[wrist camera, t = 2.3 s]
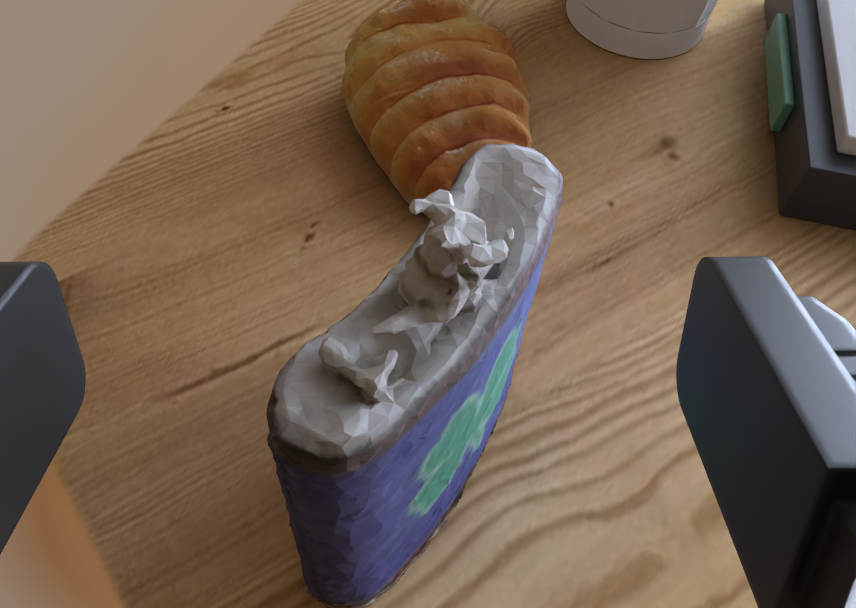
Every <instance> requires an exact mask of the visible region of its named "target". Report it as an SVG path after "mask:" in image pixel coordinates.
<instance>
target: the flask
mask: <svg viewBox="0 0 856 608" xmlns="http://www.w3.org/2000/svg"><path fill="white" fill-rule="evenodd" d="M562 189H563V178H562V176H561V174H560V172H559V171H558V170H557V169H556V168H555V167H554V165H553V164H552V163H551V162H550V161H549V160H548V159H547V158H546V157H545V156H543V155H542V154H541V153H539V152H538V151H536V150H535V149H533V148H528V147H522V146H518V145H514V144H503V145H495V144H486V145H485V146H483V147H482V148H480V149H479V150H477V151H476V152H475V153H474V154H473V155H472V156H471V157H470V158H469V159H468V160H467V161H466V162H464V163H463V164H462V165H461V167H460V169H459V171H458V173H457V174H456V176H455V178H454V180H453V182H452V183H451V188H450V190H449V191H446V190H442V189H439V190H437V191H435V192H433V193H431V194H429V195H428V196H427V197H426V198H424V199H413V201H412V202H411V204H410V205H409V209H410V212H411V213H413V214H415V215H416V214H419V213H421V212H425V213H427V214H428V215H429V216H430V218H431V221H430V222H429V224H428V226H427V228H426V229H425V230H424V231H423V232H422V233H421V234H419V236H418V237H417V239H416V241H415V243H414V244H413V245H412V247H411V248H410V249H409V250H408V252H407V253H406V254H405V255H404V256H403V258H402V259H401V260H400V261H399V262H398V264H397V265H396V266H395V267H394V268H393V269H392V270H391V271H389V272H388V274H387V275H386V277H385V278H384V279H383V281H382V282H381V284H380V285H379V286H378V287H377V288H376V289H375V290H374V291H373V292H372V293H371V294H370V295H369V296H367V297H366V298H365V299H364V300H363V301H362V302H361V303H360V304H359V305H358V306H357V307H356V308H355V310H353V311H352V312H351V313H350V314H348V315H347V316H346V317H344V318H343V319H342V320H340V321H339V322H337V323H335V324H334V325H332V326H331V327H330V328H329V329H328V330H327V331H326V332H325V333H324V334H321V335H319V336H317V337H315V338H314V339H312V340H310V341H308V342H306V343H305V344H304V345H303V346H302V348H301V349H300V350H299V351H298V352H297V353H296V354H295V355H294V356H293V357H292V358H291V359H290V360H289V361H288V362H287V363H286V365H285V366H284V367H283V368H282V369H281V370H280V372H279V374H278V377H277V379H276V382H275V384H274V386H273V389H272V394H271V397H270V400H269V403H268V407H267V420H268V425H269V431H270V432H269V435H268V439H267V440H268V446H269V447H270V449H271V451H272V453H273V459H274V460H275V462H276V466H277V471H276V472H277V475H278V478H279V481H280V484H281V488H282V493H283V494H284V496H285V499H286V508H287V510H288V512H289V517H290V526H291V528H292V531H293V534H294V538H295V541H296V545H297V549H298V552H299V554H300V557H301V562H302V572H303V576H304V580H305V584H304V587H303V590H302V592H310V593H311V594H312V596H314V597H316V598H317V599H318V601H319V602H322V603H323V604H325V605H326V606H327V607H328V608H362V607H365V606H367V605H369V604H371V603H373V602H374V601H375V599H376V598H377V596H378V595H380V594H382V593H384V592H385V591H387V590H388V589H389V588H390V587H392V586H393V585H394V584H395V583H396V582H397V581H399V578H400V576H402V575H404V573H405V571H406V570H407V568H408V567H409V566H410V564H411V563H413V561H414V560H415V559H416V558H418V557H419V555H420V554H422V553H423V552H424V551H425V550H426V548H427V547H428V544H427V543H428V542H430V540H431V539H432V538H433V537H434V536H436V535H437V534H438V532H439V529H440V528H441V527H442V526H443V525H444V523H445V522H447V517H448V515H449V513H450V512H451V510H452V509H453V508H454V507H455V506H456V505H457V503H458V502H459V499H461V496H462V493H463V489H464V487H465V484H466V483H467V480H468V479H469V477H470V476H471V474H472V471H473V469H474V467H475V466H476V462H477V461H478V460H479V457H480V456H481V453H482V452H483V451H484V449H485V446H486V444H487V441H488V439H489V437H490V434H491V435H492V433H493V429H494V428H495V425H496V422H497V418H498V416H499V415H500V412H501V411H502V409H503V406H504V402H505V399H506V396H507V393H508V389H509V387H510V385H511V380H512V373H513V366H514V363H515V360H516V357H517V354H518V350H519V346H520V343H521V339H522V333H523V329H524V326H525V322H526V319H527V315H528V312H529V309H530V306H531V303H532V300H533V297H534V295H535V293H536V289H537V285H538V281H539V277H540V273H541V268H542V265H543V262H544V258H545V255H546V251H547V248H548V245H549V242H550V239H551V236H552V233H553V230H554V225H555V221H556V218H557V214H558V212H559V209H560V206H561V204H562V201H563V200H562Z"/></svg>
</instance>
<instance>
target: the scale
mask: <svg viewBox="0 0 856 608" xmlns="http://www.w3.org/2000/svg"><path fill="white" fill-rule="evenodd" d="M765 14H766V28H767V35H766V37H765V39H764V45H765V60H766V75H767V90H768V105H769V120H770V130H771V131H774V140H775V154H776V169H777V183H778V197H779V211H780V215H782V216H787V217H792V218H797V219H803V220H808V221H813V222H818V223H823V224H828V225H833V226H838V227H843V228H848V229H854V230H856V0H765Z"/></svg>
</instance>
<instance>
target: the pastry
mask: <svg viewBox="0 0 856 608" xmlns="http://www.w3.org/2000/svg"><path fill="white" fill-rule="evenodd" d="M514 59H515V50H514V48H513V46H512V45H511V43H510V42H509V41H508V39H507V38H506V37H505V35H504V34H503V33H502V32H501V31H500V29H499V28H497V27H495V26H491V25H487V24H485V23H484V22H483V21H482V20H481V19H480V18H479V17H478V16H477V14H476V13H475V12H474V10H473V8H472V6H471V5H470V4H469V3H467V2H464V1H462V0H402V1H400V2H399V3H397V4H396V5H394V6H393V7H390V8H386V9H382V10H379V11H378V12H377V13H376V14H374V15H373V16H372V17H371V18H369V19H368V20H367V21H366V22H365V23H364V24H363V25H362V26H361V28H360V29H359V30H358V31H357V33H356V34H355V35H354V37H353V39H352V41H351V42H350V43H349V45H348V48H347V50H346V53H345V63H346V71H345V73H344V77H343V83H342V95H343V99H344V101H345V103H346V106H347V108H348V110H349V113H350V116H351V118H352V121H353V124H354V127H355V128H356V130H357V131H358V133H359V134H360V136H361V137H362V138H363V140H364V142H365V145H366V147H367V148H368V149H369V150H370V152H371V154H372V156H373V158H374V159H375V161H376V162H377V163H378V165H379V166H380V168H382V169H383V171H384V172H385V173H386V175H387V176H388V177H389V181H391V182H392V184H393V185H394V187H395V188H396V189H397V190H398V192H399V193H400V194H401V195H402V196H403V197H404V199H405V200H406V201H407V202H408V204H409V205H410V204H411V202H412V201H413V199H424V198H426V197H427V196H428V195H429V194H431V193H433V192H435V191H437V190H439V189H442V190H446V191H449V190H450V188H451V183H452V182H453V180H454V178H455V176H456V174H457V173H458V171H459V169H460V167H461V165H462V164H463V163H464V162H466V161H467V160H468V159H469V158H470V157H471V156H472V155H473V154H474V153H475V152H476V151H477V150H479V149H480V148H482V147H483V146H485V145H486V144H495V145H503V144H514V145H518V146H522V147H528V148H531V144H532V137H531V134H530V130H529V103H530V100H529V97H528V89H527V86H526V84H525V81H524V80H523V78H522V76H521V74H520V73H519V70H518V67H517V65H516V63H515V61H514ZM422 213H424V214H425V215H426V216H427V217H429V218H430V216H429V215H428V214H427V213H425V212H422ZM430 219H431V218H430Z"/></svg>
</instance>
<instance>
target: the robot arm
mask: <svg viewBox="0 0 856 608" xmlns="http://www.w3.org/2000/svg"><path fill="white" fill-rule="evenodd" d="M676 376H677V391H678V397H679V401H680V405H681V408H682V411H683V414H684V416H685V419H686V421H687V424H688V426H689V429H690V432H691V434H692V437H693V439H694V442H695V445H696V447H697V450H698V452H699V455H700V458H701V460H702V463H703V465H704V468H705V470H706V473H707V476H708V478H709V481H710V483H711V486H712V489H713V491H714V494H715V496H716V499H717V502H718V504H719V507H720V509H721V512H722V514H723V517H724V520H725V522H726V525H727V527H728V530H729V533H730V535H731V538H732V540H733V543H734V546H735V548H736V551H737V553H738V556H739V559H740V561H741V564H742V566H743V569H744V571H745V574H746V577H747V579H748V582H749V584H750V587H751V590H752V592H753V595H754V597H755V600H756V603H757V605H758V608H856V331H855V330H854V328H853V327H852V326H851V324H850V323H849V322H848V321H847V320H846V319H844V318H843V317H841V316H840V315H838V314H837V313H836V312H834V311H833V310H831V309H830V308H828V307H827V306H825V305H824V304H822V303H821V302H820V301H818V300H817V299H815V298H814V297H812V296H798V297H797V296H796V295H795V293H794V292H793V290H792V289H791V288H790V286H789V285H788V283H787V282H786V280H785V279H784V277H783V276H782V274H781V273H780V271H779V270H778V269H777V267H776V266H775V264H774V263H773V261H772V260H771V259H770V258H768V257H765V256H759V257H704V258H702V259H701V260H700V262H699V263H698V266H697V268H696V271H695V275H694V279H693V284H692V289H691V294H690V299H689V304H688V309H687V314H686V319H685V324H684V329H683V334H682V339H681V344H680V348H679V353H678V359H677V372H676ZM84 392H85V367H84V362H83V358H82V355H81V352H80V349H79V345H78V342H77V339H76V336H75V333H74V330H73V327H72V324H71V321H70V317H69V314H68V311H67V308H66V305H65V302H64V299H63V296H62V293H61V289H60V286H59V283H58V280H57V278H56V275H55V273H54V271H53V270H52V269H51V267H50V266H49V265H48V264H46V263H44V262H0V554H1V552H2V550H3V549H4V547H5V545H6V543H7V541H8V540H9V538H10V536H11V534H12V532H13V530H14V529H15V527H16V525H17V523H18V521H19V519H20V518H21V516H22V514H23V512H24V510H25V508H26V507H27V505H28V503H29V501H30V499H31V497H32V496H33V494H34V492H35V490H36V488H37V486H38V485H39V483H40V481H41V479H42V477H43V475H44V473H45V472H46V470H47V468H48V466H49V465H50V463H51V461H52V459H53V457H54V455H55V454H56V452H57V450H58V448H59V446H60V444H61V443H62V441H63V439H64V437H65V435H66V433H67V432H68V430H69V428H70V426H71V424H72V422H73V421H74V419H75V417H76V415H77V413H78V411H79V409H80V407H81V404H82V401H83V397H84Z"/></svg>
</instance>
